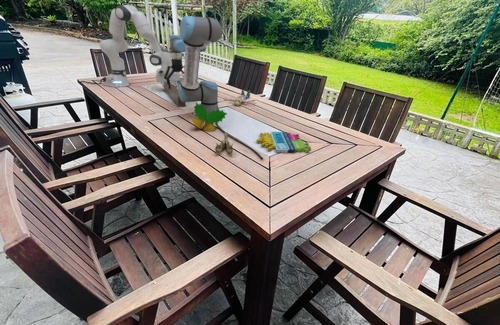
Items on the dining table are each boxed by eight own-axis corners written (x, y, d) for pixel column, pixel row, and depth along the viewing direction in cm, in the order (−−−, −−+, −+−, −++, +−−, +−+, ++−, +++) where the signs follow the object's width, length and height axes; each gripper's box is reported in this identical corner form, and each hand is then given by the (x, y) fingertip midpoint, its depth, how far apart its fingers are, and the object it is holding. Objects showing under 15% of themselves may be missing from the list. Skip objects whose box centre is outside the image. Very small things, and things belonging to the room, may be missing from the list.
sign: (313, 150, 142) (258, 149, 139) (312, 153, 143) (258, 152, 140) (301, 132, 164) (254, 130, 161) (301, 134, 165) (254, 133, 162)
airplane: (164, 79, 274) (163, 69, 268) (194, 77, 287) (193, 68, 282) (173, 89, 245) (172, 78, 240) (205, 86, 258) (205, 76, 253)
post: (185, 106, 200) (185, 96, 197) (178, 107, 198) (177, 97, 194) (170, 89, 241) (169, 80, 237) (163, 89, 238) (163, 81, 235)
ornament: (218, 133, 171) (224, 110, 169) (221, 134, 163) (227, 111, 161) (186, 125, 162) (192, 101, 160) (189, 126, 155) (195, 101, 153)
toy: (261, 91, 228) (254, 99, 202) (261, 99, 231) (253, 108, 205) (231, 87, 233) (220, 95, 207) (230, 95, 236) (219, 104, 210)
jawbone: (234, 135, 144) (233, 125, 135) (233, 160, 138) (232, 151, 129) (217, 135, 144) (216, 125, 135) (216, 160, 138) (214, 150, 129)
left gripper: (178, 69, 232) (179, 85, 238) (154, 70, 223) (156, 86, 230) (180, 70, 227) (181, 86, 233) (155, 71, 218) (157, 88, 225)
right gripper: (191, 57, 197) (193, 86, 207) (157, 57, 186) (160, 87, 196) (194, 59, 191) (196, 88, 201) (159, 59, 180) (162, 90, 191)
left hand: (168, 86), depth 231 cm, fingers open, 8 cm apart
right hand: (178, 88), depth 199 cm, fingers open, 13 cm apart
